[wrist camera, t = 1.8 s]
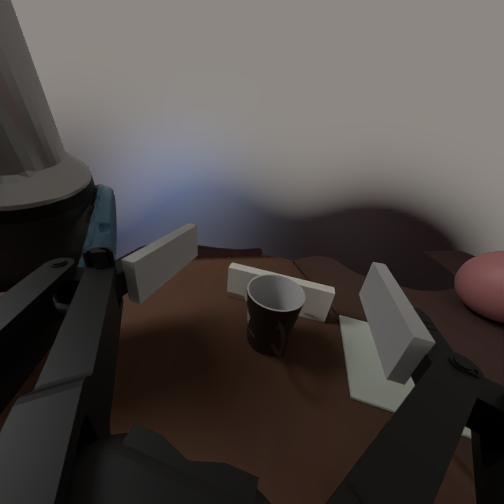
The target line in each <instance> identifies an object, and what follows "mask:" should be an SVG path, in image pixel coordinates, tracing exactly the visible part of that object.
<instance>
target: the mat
mask: <svg viewBox="0 0 504 504" xmlns="http://www.w3.org/2000/svg"><path fill="white" fill-rule="evenodd" d="M339 320H340V327H341V334H342V341H343V348H344V355H345V362H346V369H347V376H348V383H349V390H350V397H351V398H352V399H355V400H358V401H361V402H364V403H367V404H370V405H373V406H376V407H379V408H381V409H384V410H387V411H390V412H393V413H395V411H396V410H397V409H398V407H399V406H400V405H401V403H402V402H403V401H404V399H405V398H406V397H407V395H408V394H409V393H410V391H411V390H412V389H413V387H414V386H415V384H414V382H413V380H412V378H411V377H410V378H409V380H408V381H407V383H406V384H405V385H403V384H400V383H396V382H393V381H390V380H387V379H386V377H385V374H384V371H383V368H382V364H381V361H380V358H379V355H378V352H377V349H376V346H375V342H374V339H373V336H372V333H371V330H370V327H369V324H368V323H367V322H364V321H360V320H356V319H352V318H349V317H345V316H341V315H339ZM461 436H464V437H467V438H470V439H471V430H470V429H469V428H467V427H465V428H464V430H463V432H462V435H461Z"/></svg>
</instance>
